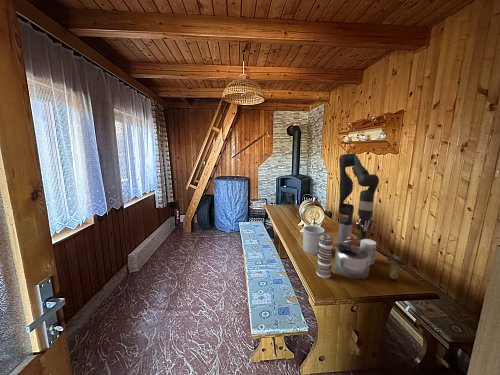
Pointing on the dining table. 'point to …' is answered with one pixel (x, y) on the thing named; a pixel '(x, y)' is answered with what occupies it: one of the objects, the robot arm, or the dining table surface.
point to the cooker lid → (352, 240)
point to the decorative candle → (325, 256)
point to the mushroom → (395, 265)
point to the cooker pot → (352, 261)
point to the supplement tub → (369, 248)
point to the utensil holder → (312, 239)
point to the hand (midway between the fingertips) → (363, 236)
